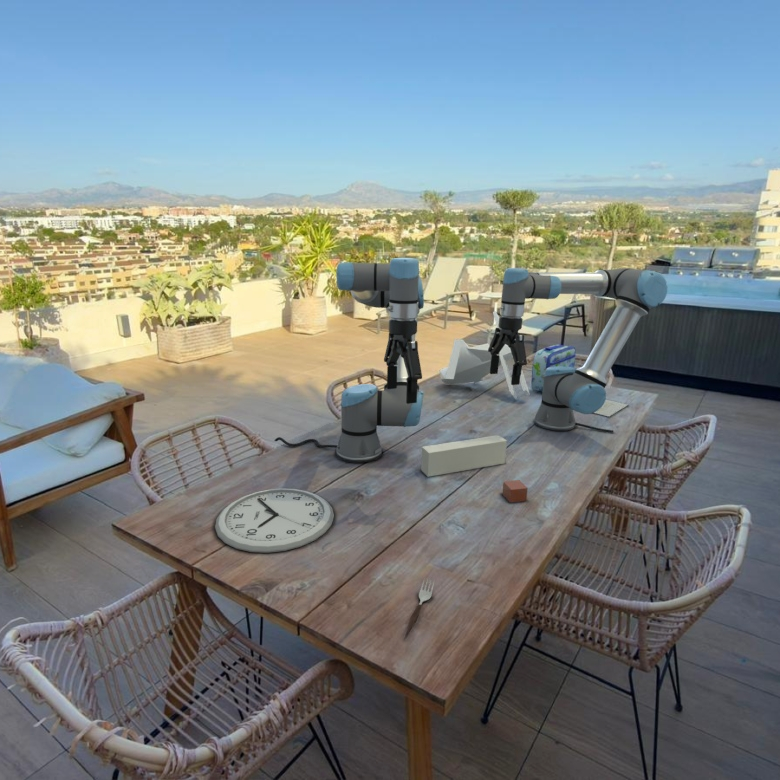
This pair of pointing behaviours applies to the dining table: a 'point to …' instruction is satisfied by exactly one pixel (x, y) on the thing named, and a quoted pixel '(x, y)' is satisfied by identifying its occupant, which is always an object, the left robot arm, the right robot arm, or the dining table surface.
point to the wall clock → (274, 520)
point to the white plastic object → (477, 364)
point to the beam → (463, 455)
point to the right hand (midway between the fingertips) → (504, 379)
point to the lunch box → (550, 362)
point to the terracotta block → (514, 491)
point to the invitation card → (610, 408)
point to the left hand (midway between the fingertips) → (401, 395)
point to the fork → (423, 597)
